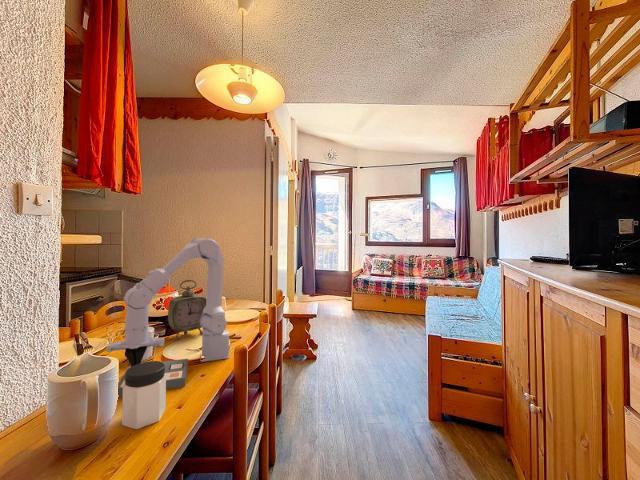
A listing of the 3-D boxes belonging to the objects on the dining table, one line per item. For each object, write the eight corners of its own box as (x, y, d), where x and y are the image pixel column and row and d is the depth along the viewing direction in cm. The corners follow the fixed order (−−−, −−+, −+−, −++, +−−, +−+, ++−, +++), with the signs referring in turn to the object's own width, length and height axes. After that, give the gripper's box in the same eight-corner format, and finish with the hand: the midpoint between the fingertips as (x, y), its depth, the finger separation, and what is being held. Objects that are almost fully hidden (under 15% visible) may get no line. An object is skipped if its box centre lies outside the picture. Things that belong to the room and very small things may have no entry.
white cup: (141, 363, 94) (141, 334, 94) (122, 361, 96) (122, 332, 96) (158, 354, 102) (159, 327, 102) (141, 352, 104) (141, 325, 104)
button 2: (182, 370, 89) (182, 363, 89) (181, 374, 86) (181, 367, 86) (171, 371, 88) (171, 364, 88) (170, 376, 85) (170, 369, 85)
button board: (187, 365, 93) (187, 357, 93) (184, 386, 80) (185, 377, 80) (128, 374, 86) (128, 365, 86) (114, 398, 74) (115, 388, 74)
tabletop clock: (172, 342, 114) (173, 282, 114) (166, 336, 120) (167, 280, 120) (207, 334, 124) (208, 279, 124) (199, 329, 130) (201, 277, 130)
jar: (113, 424, 63) (115, 372, 63) (145, 404, 71) (146, 358, 71) (142, 433, 61) (144, 379, 61) (172, 411, 69) (173, 363, 69)
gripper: (103, 334, 77) (102, 382, 77) (162, 328, 82) (161, 373, 82) (111, 326, 83) (110, 371, 83) (165, 322, 89) (164, 363, 89)
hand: (136, 371), depth 83 cm, fingers closed
